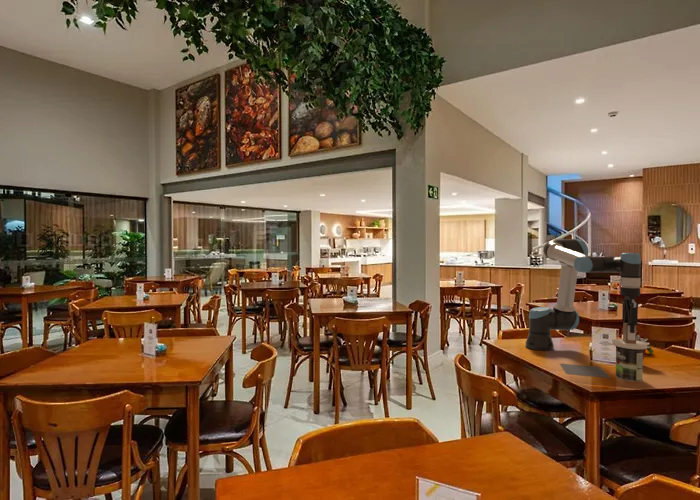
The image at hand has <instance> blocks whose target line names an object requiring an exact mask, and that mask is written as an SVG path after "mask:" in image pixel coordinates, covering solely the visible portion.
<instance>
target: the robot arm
mask: <svg viewBox="0 0 700 500" xmlns="http://www.w3.org/2000/svg"><path fill="white" fill-rule="evenodd" d="M543 254H544V256H545V257H546V258H547V259H549V260H551V261H558V262H559V264H560V267H561V268H560V275H559V284H558V290H557V299H556V304H554V305H553V309H552V308H551V307H547V306H542V307H540V306H539V307H533V308H531V309H530V310H529V313H528V336H527V338H526V340H525V347H526V348H527V349H531V350H536V351H548V352H549V351H554V349H555V348H554V347H555V346H554V342H553V338H552V336H551V333H552V332H551V331H571V330H572V331H573V330H574V329H576V328H577V327H578V325H579V323H580V316H579V312H578V311H576V310H577V309H576V307H575V306H574V301H575V294H576V287H577V280H578V273H618V274H620V275H619V276H620V278H619V279H618V281H619V282H620V289H619V295H621V296H622V297H623V296H624V298H623V299H622V300H621V302H622V314H621V315H622V319H621V320H622V322H623V323H629V324H627V325H628V340H635V326H636V327H637V326H638V318H639V317H638V316H639V315H638V314H639V310H638V309H639V303H638V302H637V300H636V299H637V298H636V297H641V288H640V287H641V283H642V282H641V281H642V280H641V270H642V269H641V266H642V261H641V254H640V253H638V252H622V253H620V256H615V255H614V256H613V255H611V256H591V255H588V254H589V248H588V245H587V244H586V242H585V241H584V240H582V239H576V238H571V239H569V238H565V239H564V238H555V239H551V240H549V241H547V242H546V243H545V245H544V246H543Z"/></svg>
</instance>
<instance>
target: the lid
mask: <svg viewBox="0 0 700 500" xmlns="http://www.w3.org/2000/svg"><path fill="white" fill-rule="evenodd" d="M627 324H629V323H624V322H623V323H622V338H619V339H618V338H617V339H616V338H615V339H612V343H611V345H613V346H615V347H616V346H617V347H621V348H627V349H638V350H641V349H646V350H647V344H646V343H643V342H640V341H636V336H637V325H636V326H635V340H628V325H627Z"/></svg>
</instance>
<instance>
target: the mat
mask: <svg viewBox="0 0 700 500" xmlns="http://www.w3.org/2000/svg"><path fill="white" fill-rule="evenodd" d="M559 365H560V367H561V368H562V369H563V371H564V373H565V374H566V375H574V376H586V377H595V378H607V379H611V377H610V375H608V373H607V372H605V371H604V369H603V368H602V367H601V366H594V365H584V364H583V365H581V364H572V363H571V364H570V363H559Z"/></svg>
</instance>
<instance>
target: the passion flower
mask: <svg viewBox="0 0 700 500" xmlns="http://www.w3.org/2000/svg"><path fill="white" fill-rule="evenodd" d="M648 339H649V338H641V336H640V335H639V334H636V340H638V341H643V342H646V343H648V344H649V345H648V346H647V349H646V350H647V352H648V353H649V355H653V353H654V350H653V349H652V347H651V345H650V342H647V341H648Z"/></svg>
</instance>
